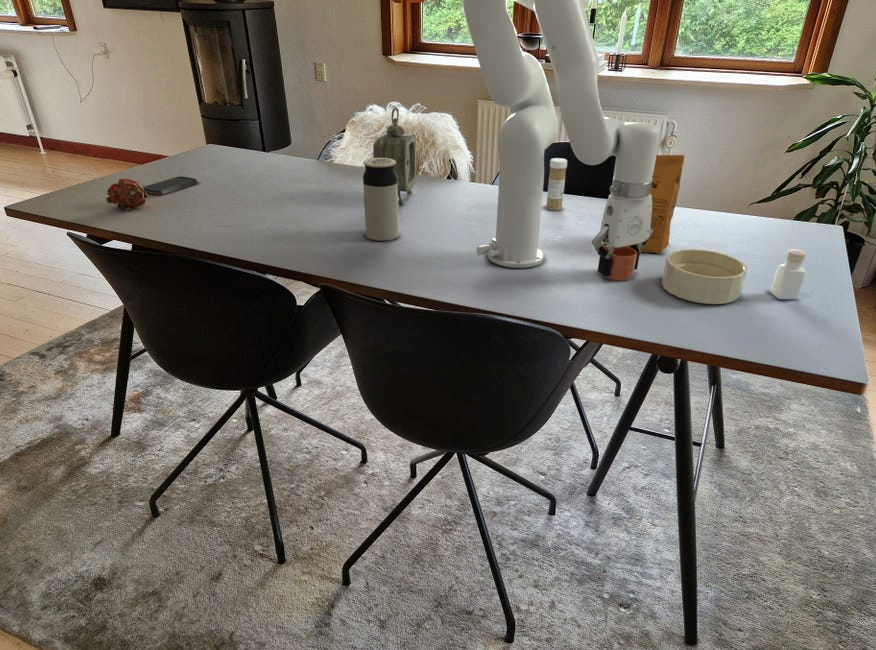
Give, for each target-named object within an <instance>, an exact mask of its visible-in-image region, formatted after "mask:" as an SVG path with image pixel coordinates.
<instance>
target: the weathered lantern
mask: <svg viewBox="0 0 876 650" xmlns="http://www.w3.org/2000/svg"><path fill="white" fill-rule="evenodd" d="M395 112H396V117H394V115H395ZM399 112H400V111H399V108H398V107H397V106H394V107H393V108H392V111H391V123H392V124H391V125H390V126H388V127H387V129H386V132H385V134H383V135H381V136H379V137H378V138H376V140H375V141H374V142H373V148H372V150H373V153H372V158H389V159H393V160H395V161H396V164H395V166H394V170H395V172H396V174H397V189H398V206H400V207H402V206H404V205H405V201H404V200H403V199H402V195H401V192H404V193H405V192H406V194H407V195H408V196H411V195H412V194H413V191H412V189H413V187H414V186H415V183H416V180H417V140H416V139H417V138H416V135H415V134H414V133H406V132H405V129H404V127H402V125H399V124H398V122H399V119H400V118H399V117H400V113H399Z"/></svg>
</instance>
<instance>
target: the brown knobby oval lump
mask: <svg viewBox="0 0 876 650" xmlns="http://www.w3.org/2000/svg"><path fill="white" fill-rule="evenodd" d="M142 187H143V186H141V184H139V183H138V181H135V180H134V179H132V178H118V181H117V183H112V184H111V185H110V186H109V188H108V189H107V191H106V196H107V197H105V200H106V202H107V203H108V204H114V205H117V207H118V208H119V209H120V210H123V211H124V210H127V209H130V210H138V209H139V208H140V206H144V205H145V204H146V200H147V198H148V197H149V195H148V193H147V192H146V191H145V190H144V189H143V188H142Z"/></svg>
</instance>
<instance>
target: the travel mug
mask: <svg viewBox="0 0 876 650" xmlns="http://www.w3.org/2000/svg"><path fill="white" fill-rule="evenodd" d="M362 162H363V163H362V164H363V165H364V168H365V170H364V172H363V175H362V184H363V186H362V187H363V204H364V221H365V223H364V224H365V236H366V237H367V238H368V239H369V240H373V241H377V242H384V241H385V242H386V241H393V240H394V239H396V238H397V237H399V235H400V234H399V232H400V231H399V197H398V189H397V174H396V172H395V170H394V166H395V164H396V161H395V160H393V159H389V158H373V157H371V158H367V159H364V160H363V161H362Z"/></svg>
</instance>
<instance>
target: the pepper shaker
mask: <svg viewBox="0 0 876 650" xmlns="http://www.w3.org/2000/svg"><path fill="white" fill-rule="evenodd" d="M806 256H807V252H806V251H804V250H801V249H795V248H791V249H788V250H787V253H786V257H785V261H784V263H781V264H779V265H778V266H777V267H776V268H777V269H776V271H775V275H774V278H773V282H772V285H771V288H770V293H771V294H773V295H774V296H775V297H776V298H777V299H779V300H796V299H798V298H799V294H800V291H801V288H802V286H803V285H802V284H803V282H804V279H805V276H806V270H805V268H803V264H804V262H805V258H806Z"/></svg>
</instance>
